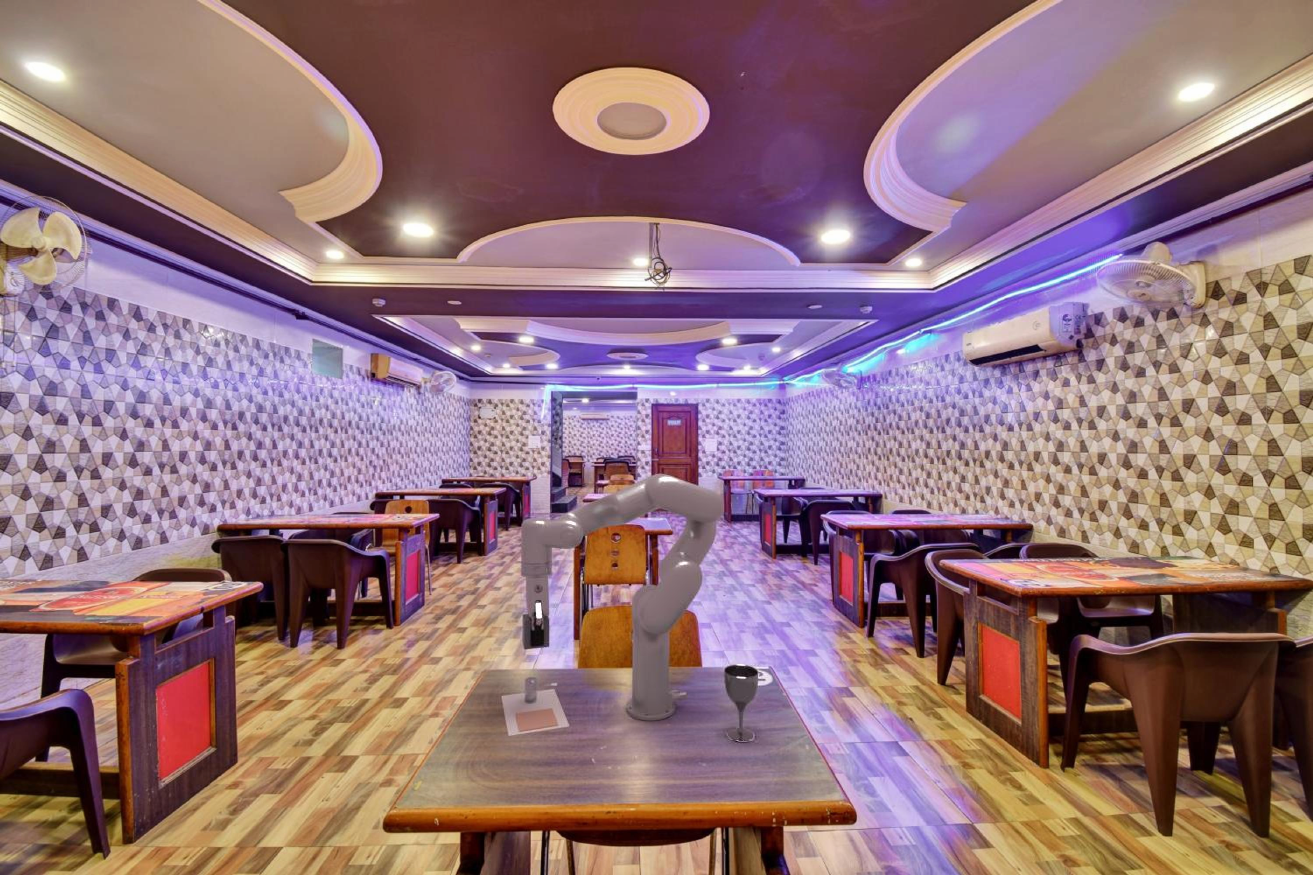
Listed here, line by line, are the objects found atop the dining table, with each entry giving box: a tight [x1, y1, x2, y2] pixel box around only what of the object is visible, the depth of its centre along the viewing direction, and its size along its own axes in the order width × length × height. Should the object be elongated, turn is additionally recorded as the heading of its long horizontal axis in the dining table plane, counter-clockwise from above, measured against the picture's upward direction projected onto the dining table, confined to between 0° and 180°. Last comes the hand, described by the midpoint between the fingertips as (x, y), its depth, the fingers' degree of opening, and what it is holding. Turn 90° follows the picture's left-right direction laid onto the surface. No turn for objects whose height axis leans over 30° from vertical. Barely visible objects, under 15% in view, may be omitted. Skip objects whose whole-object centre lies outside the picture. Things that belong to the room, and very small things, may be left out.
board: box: [501, 688, 570, 737], centre depth 139 cm, size 14×22×2 cm, turn 20°
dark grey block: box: [521, 613, 550, 650], centre depth 138 cm, size 6×6×7 cm
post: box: [524, 676, 538, 704], centre depth 145 cm, size 3×3×6 cm
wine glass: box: [723, 663, 759, 742], centre depth 131 cm, size 8×8×15 cm
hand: (535, 640), depth 138 cm, fingers closed on dark grey block, 5 cm apart
